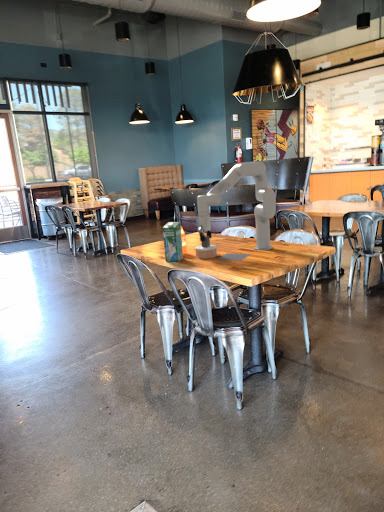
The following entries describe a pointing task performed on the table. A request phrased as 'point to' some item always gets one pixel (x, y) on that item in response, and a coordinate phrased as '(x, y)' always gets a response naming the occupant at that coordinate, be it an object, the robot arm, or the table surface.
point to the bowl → (206, 254)
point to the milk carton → (173, 241)
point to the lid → (206, 245)
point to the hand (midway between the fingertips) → (206, 239)
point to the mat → (234, 256)
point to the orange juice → (183, 240)
